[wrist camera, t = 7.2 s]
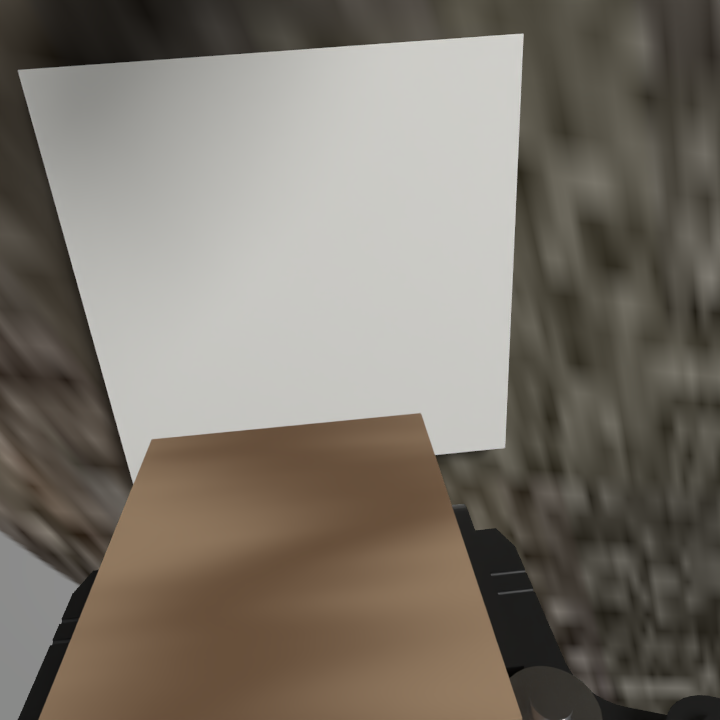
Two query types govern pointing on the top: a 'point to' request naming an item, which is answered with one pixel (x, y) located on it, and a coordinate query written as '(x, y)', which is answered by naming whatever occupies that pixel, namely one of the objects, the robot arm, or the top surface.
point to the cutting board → (293, 234)
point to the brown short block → (286, 586)
